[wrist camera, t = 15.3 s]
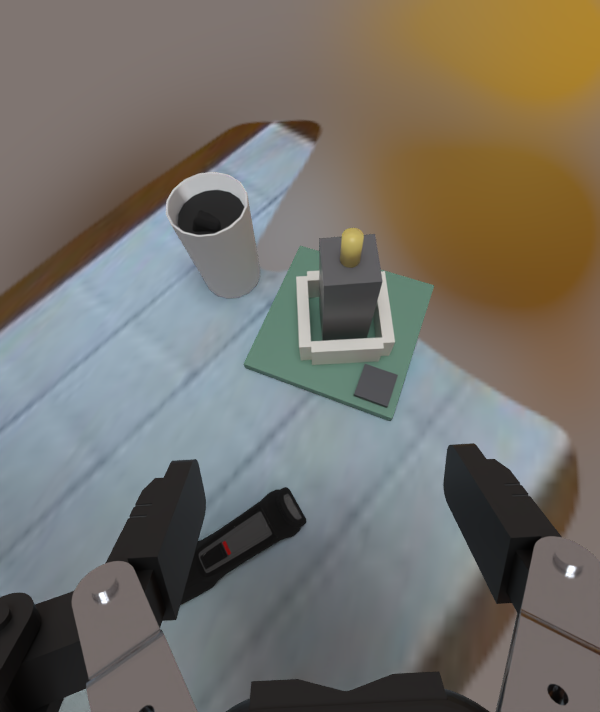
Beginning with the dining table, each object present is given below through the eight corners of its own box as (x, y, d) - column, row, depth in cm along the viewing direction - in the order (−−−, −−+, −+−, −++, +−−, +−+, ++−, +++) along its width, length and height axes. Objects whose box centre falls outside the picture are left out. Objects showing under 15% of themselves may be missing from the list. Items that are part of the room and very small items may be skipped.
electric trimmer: (119, 587, 30) (97, 596, 27) (286, 483, 32) (283, 481, 29) (136, 636, 29) (115, 651, 26) (309, 525, 31) (307, 527, 28)
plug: (322, 344, 35) (324, 264, 24) (319, 306, 37) (319, 214, 25) (366, 341, 35) (388, 260, 24) (360, 303, 37) (379, 209, 25)
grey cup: (259, 304, 38) (240, 239, 29) (195, 299, 39) (156, 234, 30) (268, 250, 41) (254, 173, 32) (208, 246, 41) (176, 170, 32)
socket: (300, 365, 35) (299, 352, 32) (297, 289, 38) (295, 271, 35) (389, 360, 34) (396, 347, 32) (379, 284, 37) (384, 266, 35)
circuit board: (245, 367, 36) (242, 361, 34) (300, 251, 41) (300, 241, 39) (390, 421, 33) (393, 417, 32) (431, 290, 38) (435, 282, 37)
